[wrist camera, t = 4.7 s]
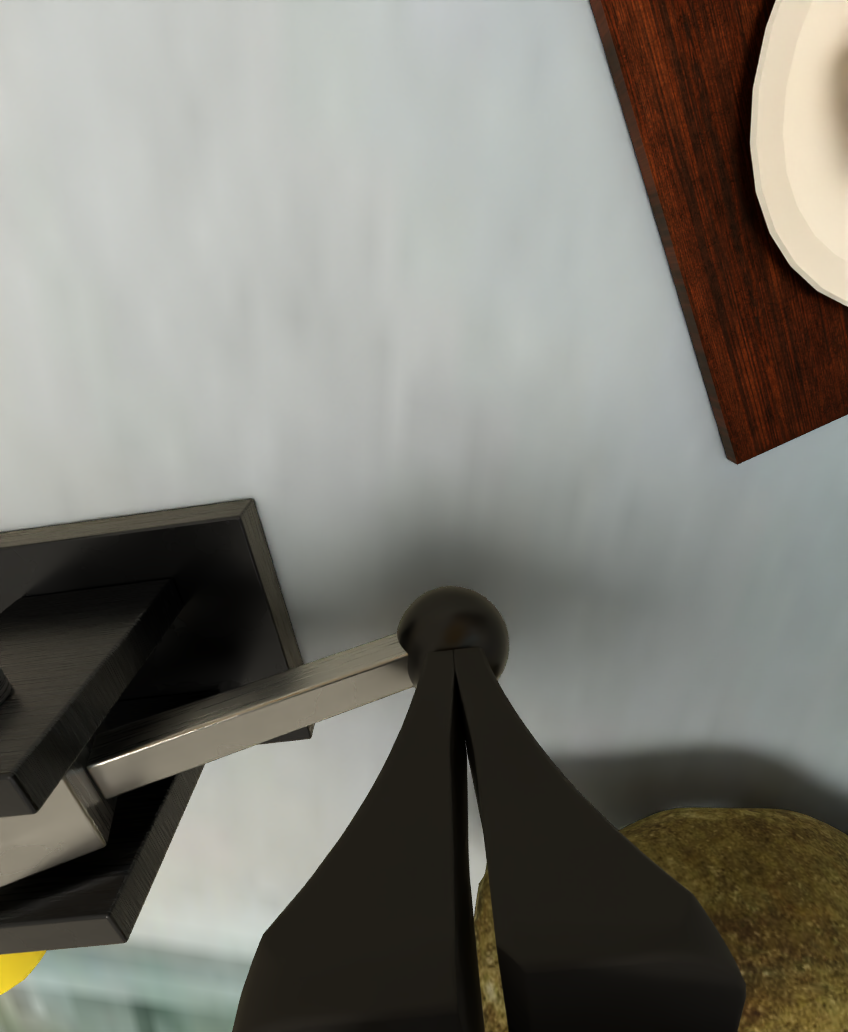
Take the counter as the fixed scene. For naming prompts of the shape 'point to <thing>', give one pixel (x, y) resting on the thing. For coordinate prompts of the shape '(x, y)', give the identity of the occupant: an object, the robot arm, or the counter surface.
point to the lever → (240, 725)
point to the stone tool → (742, 909)
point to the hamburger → (747, 195)
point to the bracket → (121, 685)
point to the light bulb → (17, 968)
